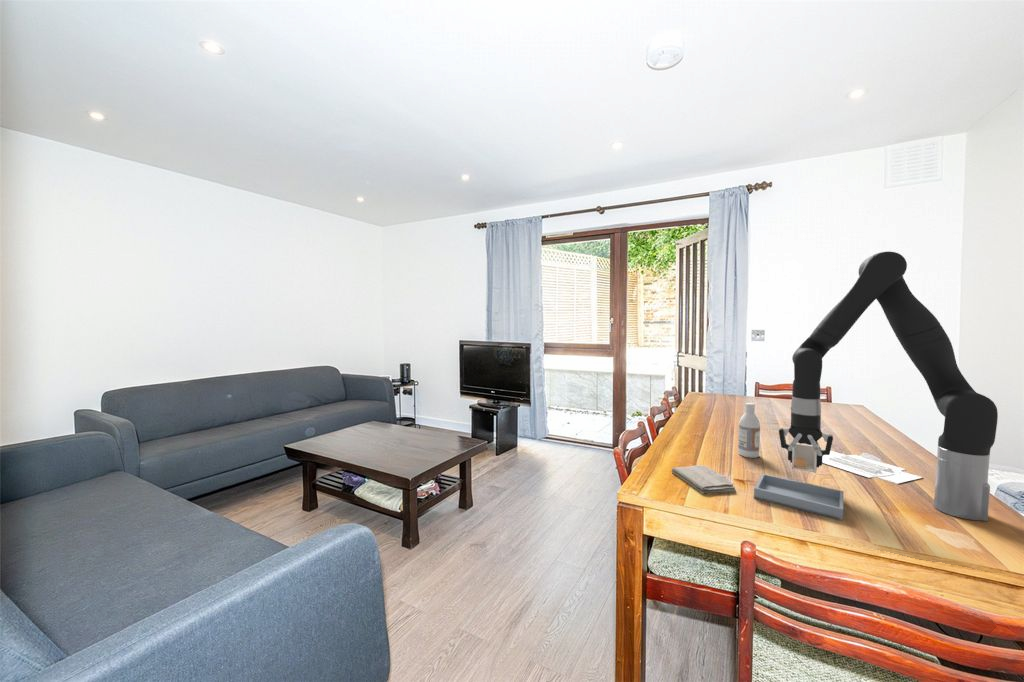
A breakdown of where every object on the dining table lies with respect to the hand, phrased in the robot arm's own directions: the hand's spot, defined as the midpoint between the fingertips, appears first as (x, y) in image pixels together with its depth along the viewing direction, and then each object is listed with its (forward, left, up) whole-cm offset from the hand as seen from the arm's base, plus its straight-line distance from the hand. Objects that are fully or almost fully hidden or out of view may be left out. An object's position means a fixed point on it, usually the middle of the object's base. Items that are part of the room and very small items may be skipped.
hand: (804, 464), depth 125 cm
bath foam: (+18, -19, -7) cm, 27 cm away
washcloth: (+25, +18, -7) cm, 32 cm away
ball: (+1, +3, +1) cm, 3 cm away
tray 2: (-14, -32, -7) cm, 36 cm away
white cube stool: (0, 0, -1) cm, 1 cm away
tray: (0, +14, -7) cm, 15 cm away
